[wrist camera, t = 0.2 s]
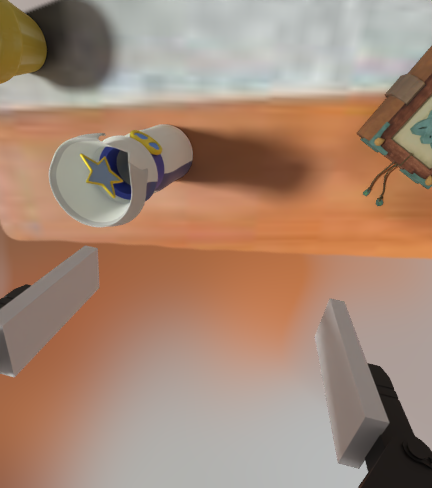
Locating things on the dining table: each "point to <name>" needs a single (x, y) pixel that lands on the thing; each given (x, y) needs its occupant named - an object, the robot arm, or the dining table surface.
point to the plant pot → (19, 43)
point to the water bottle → (117, 172)
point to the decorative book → (405, 125)
